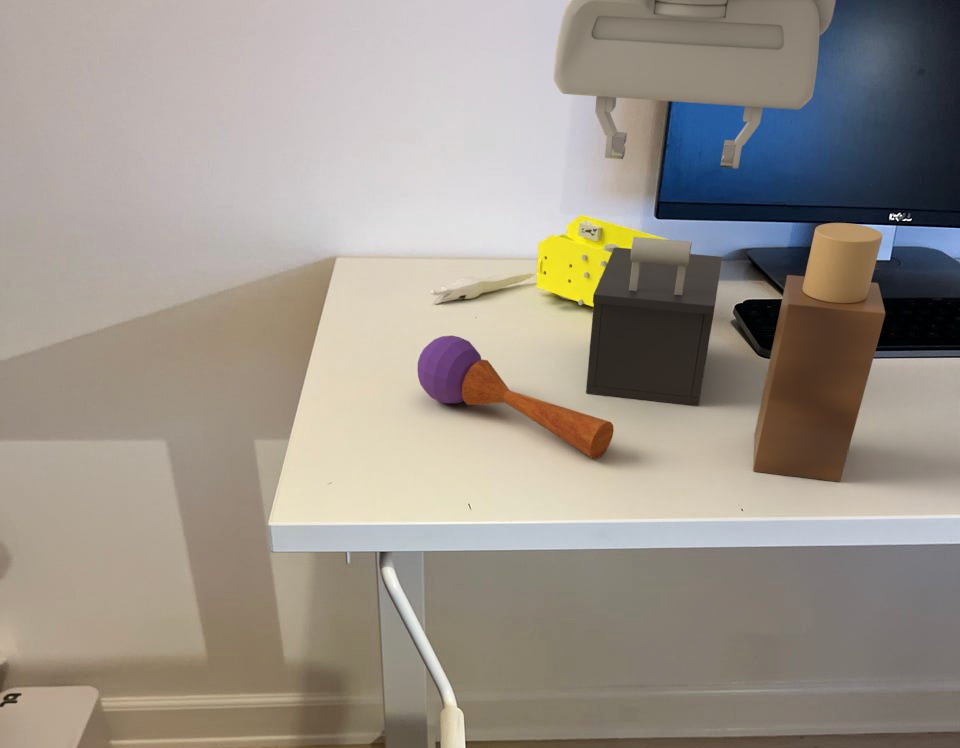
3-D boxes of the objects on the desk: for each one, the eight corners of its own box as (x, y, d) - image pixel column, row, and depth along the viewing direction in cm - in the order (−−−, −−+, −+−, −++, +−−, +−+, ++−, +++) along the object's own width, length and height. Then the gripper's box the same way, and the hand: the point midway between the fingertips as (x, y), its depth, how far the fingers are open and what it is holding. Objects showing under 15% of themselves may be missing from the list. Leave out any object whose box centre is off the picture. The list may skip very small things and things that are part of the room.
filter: (864, 285, 77) (880, 225, 75) (869, 306, 74) (885, 243, 71) (801, 280, 78) (814, 220, 75) (802, 300, 74) (816, 238, 72)
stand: (836, 444, 87) (878, 282, 78) (839, 482, 81) (885, 313, 73) (754, 434, 88) (787, 274, 79) (752, 471, 82) (787, 303, 74)
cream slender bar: (437, 308, 112) (437, 291, 110) (424, 301, 113) (424, 284, 112) (541, 284, 119) (542, 268, 117) (528, 278, 120) (529, 262, 119)
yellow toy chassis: (674, 320, 110) (685, 242, 105) (642, 333, 107) (651, 253, 102) (566, 284, 119) (571, 210, 114) (534, 294, 116) (537, 219, 111)
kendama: (581, 428, 79) (400, 344, 88) (579, 486, 84) (407, 401, 93) (624, 393, 82) (445, 315, 91) (620, 451, 87) (449, 371, 96)
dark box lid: (713, 315, 86) (723, 252, 83) (592, 303, 88) (597, 241, 85) (720, 264, 97) (730, 207, 94) (613, 255, 99) (618, 199, 96)
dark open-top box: (698, 406, 92) (713, 312, 87) (585, 393, 94) (593, 300, 89) (706, 352, 103) (720, 265, 97) (605, 341, 105) (613, 255, 99)
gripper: (841, -38, 74) (800, 163, 83) (570, -49, 77) (558, 144, 86) (845, -32, 69) (801, 181, 78) (556, -44, 73) (544, 161, 81)
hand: (671, 162), depth 82 cm, fingers open, 8 cm apart
